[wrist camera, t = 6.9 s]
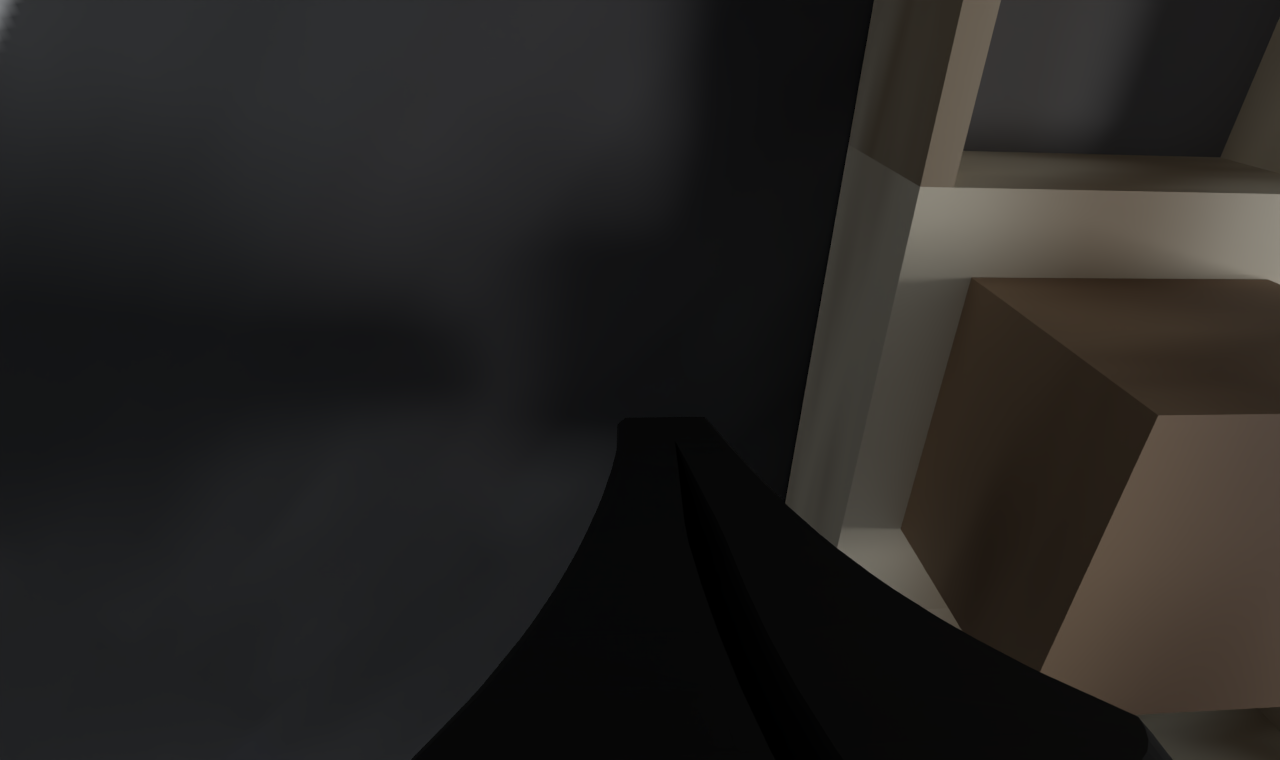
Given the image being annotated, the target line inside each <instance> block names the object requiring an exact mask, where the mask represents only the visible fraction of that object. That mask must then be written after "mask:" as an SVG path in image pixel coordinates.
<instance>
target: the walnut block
mask: <svg viewBox="0 0 1280 760" xmlns="http://www.w3.org/2000/svg"><path fill="white" fill-rule="evenodd" d="M901 531H902V532H903V534H904V536H905V537H906V539H907V541H908V542H909V544H910V546H911V547H912V549H913V550H914V552H915V554H916V555H917V557H918V559H919V560H920V562H921V564H922V565H923V567H924V569H925V570H926V572H927V574H928V575H929V577H930V579H931V580H932V582H933V584H934V585H935V587H936V589H937V590H938V592H939V593H940V595H941V597H942V598H943V600H944V602H945V603H946V605H947V607H948V608H949V610H950V612H951V613H952V615H953V617H954V618H955V620H956V622H957V623H958V625H959V627H960V628H961V630H962V631H963V632H965V633H967V634H968V635H970V636H972V637H974V638H975V639H977V640H979V641H981V642H983V643H985V644H987V645H989V646H991V647H992V648H994V649H996V650H998V651H1000V652H1002V653H1004V654H1006V655H1008V656H1010V657H1011V658H1013V659H1015V660H1017V661H1019V662H1021V663H1023V664H1025V665H1027V666H1029V667H1031V668H1033V669H1035V670H1037V671H1039V672H1041V673H1043V674H1045V675H1048V676H1050V677H1052V678H1054V679H1056V680H1059V681H1061V682H1063V683H1065V684H1067V685H1070V686H1072V687H1074V688H1076V689H1078V690H1081V691H1083V692H1085V693H1087V694H1089V695H1092V696H1094V697H1096V698H1098V699H1100V700H1103V701H1105V702H1107V703H1109V704H1111V705H1114V706H1116V707H1118V708H1120V709H1123V710H1125V711H1127V712H1129V713H1131V714H1134V715H1144V714H1162V713H1180V712H1197V711H1215V710H1233V709H1251V708H1269V707H1280V284H1278V283H1275V282H1273V281H1271V280H1268V279H1133V278H995V277H971V281H970V284H969V288H968V291H967V295H966V298H965V302H964V305H963V309H962V313H961V316H960V320H959V323H958V327H957V330H956V334H955V337H954V341H953V345H952V348H951V352H950V355H949V359H948V362H947V366H946V369H945V373H944V376H943V380H942V384H941V387H940V391H939V394H938V398H937V401H936V405H935V408H934V412H933V416H932V419H931V423H930V426H929V430H928V433H927V437H926V440H925V444H924V448H923V451H922V455H921V458H920V462H919V465H918V469H917V472H916V476H915V479H914V483H913V487H912V490H911V494H910V497H909V501H908V504H907V508H906V511H905V515H904V519H903V522H902V526H901Z"/></svg>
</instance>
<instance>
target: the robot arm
mask: <svg viewBox="0 0 1280 760" xmlns="http://www.w3.org/2000/svg"><path fill="white" fill-rule="evenodd" d="M412 760H1173V759H1172V758H1171V757H1170V755H1169V754H1168V753H1167V752H1166V750H1165V749H1164V748H1163V747H1162V745H1161V744H1160V743H1159V741H1158V740H1157V739H1156V738H1155V736H1154V735H1153V734H1152V732H1151V731H1150V730H1149V729H1148V728H1147V727H1146V725H1145V724H1144V723H1143V722H1142V721H1141V720H1140V718H1139V717H1138V716H1136V715H1134V714H1131V713H1129V712H1127V711H1125V710H1123V709H1120V708H1118V707H1116V706H1114V705H1111V704H1109V703H1107V702H1105V701H1103V700H1100V699H1098V698H1096V697H1094V696H1092V695H1089V694H1087V693H1085V692H1083V691H1081V690H1078V689H1076V688H1074V687H1072V686H1070V685H1067V684H1065V683H1063V682H1061V681H1059V680H1056V679H1054V678H1052V677H1050V676H1048V675H1045V674H1043V673H1041V672H1039V671H1037V670H1035V669H1033V668H1031V667H1029V666H1027V665H1025V664H1023V663H1021V662H1019V661H1017V660H1015V659H1013V658H1011V657H1010V656H1008V655H1006V654H1004V653H1002V652H1000V651H998V650H996V649H994V648H992V647H991V646H989V645H987V644H985V643H983V642H981V641H979V640H977V639H975V638H974V637H972V636H970V635H968V634H967V633H965V632H963V631H961V630H960V629H958V628H956V627H954V626H953V625H951V624H949V623H947V622H946V621H944V620H942V619H940V618H939V617H937V616H936V615H934V614H932V613H931V612H929V611H928V610H926V609H925V608H923V607H921V606H920V605H918V604H917V603H915V602H913V601H912V600H910V599H909V598H907V597H905V596H904V595H902V594H901V593H899V592H897V591H896V590H894V589H893V588H892V587H890V586H889V585H887V584H886V583H884V582H883V581H881V580H880V579H878V578H877V577H875V576H874V575H873V574H871V573H870V572H869V571H867V570H866V569H865V568H863V567H862V566H861V565H859V564H858V563H856V562H855V561H854V560H852V559H851V558H850V557H848V556H847V555H846V554H844V553H843V552H842V551H840V550H839V549H838V548H836V547H835V546H834V545H833V544H831V543H830V542H829V541H828V540H827V539H825V538H824V537H823V536H822V535H820V534H819V533H818V532H817V531H816V530H815V529H814V528H812V527H811V526H810V525H809V524H808V523H807V522H806V521H804V520H803V519H802V518H801V517H800V516H799V515H798V514H796V513H795V512H794V511H793V510H792V509H791V508H790V507H789V506H788V505H787V504H786V503H784V502H783V501H782V500H781V499H780V498H779V497H778V496H777V495H776V494H775V493H774V492H773V491H772V490H771V489H770V488H769V487H768V486H767V485H766V484H765V483H764V482H763V481H762V480H761V478H760V477H759V476H758V475H757V474H756V473H755V472H754V471H753V470H752V469H751V468H750V467H749V466H748V465H747V464H746V463H745V462H744V460H743V459H742V458H741V457H740V456H739V455H738V454H737V453H736V452H735V451H734V449H733V448H732V447H731V446H730V445H729V444H728V443H727V442H726V440H725V439H724V438H723V437H722V436H721V435H720V434H719V433H718V431H717V430H716V429H715V428H714V427H713V426H712V425H711V424H710V423H709V422H708V420H707V419H706V418H705V417H663V418H625V419H623V420H622V421H621V422H620V423H619V424H618V427H617V451H616V455H615V459H614V463H613V467H612V470H611V473H610V476H609V479H608V482H607V485H606V488H605V491H604V494H603V496H602V499H601V501H600V504H599V506H598V508H597V511H596V513H595V515H594V517H593V519H592V522H591V524H590V526H589V528H588V530H587V533H586V535H585V537H584V539H583V541H582V543H581V545H580V547H579V549H578V551H577V552H576V554H575V556H574V558H573V560H572V562H571V563H570V565H569V567H568V569H567V570H566V572H565V574H564V575H563V577H562V579H561V580H560V582H559V584H558V585H557V587H556V588H555V590H554V591H553V593H552V594H551V596H550V597H549V599H548V600H547V602H546V603H545V605H544V606H543V608H542V609H541V611H540V612H539V614H538V615H537V617H536V618H535V620H534V621H533V622H532V624H531V625H530V627H529V628H528V629H527V631H526V632H525V633H524V635H523V636H522V637H521V639H520V640H519V641H518V642H517V644H516V645H515V646H514V647H513V649H512V650H511V651H510V652H509V653H508V655H507V656H506V657H505V658H504V660H503V661H502V662H501V663H500V664H499V666H498V667H497V668H496V669H495V671H494V672H493V673H492V674H491V675H490V677H489V678H488V679H487V680H486V681H485V683H484V684H483V685H482V686H481V687H480V689H479V690H478V691H477V692H476V693H475V694H474V695H473V696H472V697H471V699H470V700H469V701H468V702H467V703H466V704H465V705H464V706H463V707H462V708H461V709H460V710H459V711H458V712H457V713H456V714H455V715H454V716H453V717H452V718H451V719H450V720H449V721H448V722H447V723H446V724H445V725H444V726H443V728H442V729H441V730H440V731H439V732H438V733H437V734H436V735H435V736H434V737H433V738H432V739H431V740H430V741H429V742H428V743H427V744H426V745H425V746H424V747H423V748H422V749H421V750H420V751H419V752H418V753H417V754H416V755H415V756H414V757H413V758H412Z"/></svg>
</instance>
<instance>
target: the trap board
mask: <svg viewBox="0 0 1280 760" xmlns="http://www.w3.org/2000/svg"><path fill="white" fill-rule="evenodd" d="M971 277H995V278H1133V279H1268V280H1271V281H1273V282H1275V283H1278V284H1280V0H874V3H873V9H872V15H871V20H870V26H869V32H868V37H867V43H866V49H865V54H864V60H863V66H862V71H861V77H860V83H859V88H858V94H857V100H856V105H855V111H854V117H853V122H852V128H851V134H850V139H849V145H848V151H847V156H846V162H845V168H844V173H843V179H842V185H841V190H840V196H839V202H838V207H837V213H836V218H835V224H834V230H833V235H832V241H831V247H830V252H829V258H828V264H827V269H826V275H825V281H824V286H823V292H822V298H821V303H820V309H819V315H818V320H817V326H816V332H815V337H814V343H813V349H812V354H811V360H810V366H809V371H808V377H807V383H806V388H805V394H804V400H803V405H802V411H801V417H800V422H799V428H798V433H797V439H796V445H795V450H794V456H793V462H792V467H791V473H790V479H789V484H788V490H787V496H786V501H785V503H786V504H787V505H788V506H789V507H790V508H791V509H792V510H793V511H794V512H795V513H796V514H798V515H799V516H800V517H801V518H802V519H803V520H804V521H806V522H807V523H808V524H809V525H810V526H811V527H812V528H814V529H815V530H816V531H817V532H818V533H819V534H820V535H822V536H823V537H824V538H825V539H827V540H828V541H829V542H830V543H831V544H833V545H834V546H835V547H836V548H838V549H839V550H840V551H842V552H843V553H844V554H846V555H847V556H848V557H850V558H851V559H852V560H854V561H855V562H856V563H858V564H859V565H861V566H862V567H863V568H865V569H866V570H867V571H869V572H870V573H871V574H873V575H874V576H875V577H877V578H878V579H880V580H881V581H883V582H884V583H886V584H887V585H889V586H890V587H892V588H893V589H894V590H896V591H897V592H899V593H901V594H902V595H904V596H905V597H907V598H909V599H910V600H912V601H913V602H915V603H917V604H918V605H920V606H921V607H923V608H925V609H926V610H928V611H929V612H931V613H932V614H934V615H936V616H937V617H939V618H940V619H942V620H944V621H946V622H947V623H949V624H951V625H953V626H954V627H956V628H958V629H960V630H961V628H960V627H959V625H958V623H957V622H956V620H955V618H954V617H953V615H952V613H951V612H950V610H949V608H948V607H947V605H946V603H945V602H944V600H943V598H942V597H941V595H940V593H939V592H938V590H937V589H936V587H935V585H934V584H933V582H932V580H931V579H930V577H929V575H928V574H927V572H926V570H925V569H924V567H923V565H922V564H921V562H920V560H919V559H918V557H917V555H916V554H915V552H914V550H913V549H912V547H911V546H910V544H909V542H908V541H907V539H906V537H905V536H904V534H903V532H902V531H901V526H902V522H903V519H904V515H905V511H906V508H907V504H908V501H909V497H910V494H911V490H912V487H913V483H914V479H915V476H916V472H917V469H918V465H919V462H920V458H921V455H922V451H923V448H924V444H925V440H926V437H927V433H928V430H929V426H930V423H931V419H932V416H933V412H934V408H935V405H936V401H937V398H938V394H939V391H940V387H941V384H942V380H943V376H944V373H945V369H946V366H947V362H948V359H949V355H950V352H951V348H952V345H953V341H954V337H955V334H956V330H957V327H958V323H959V320H960V316H961V313H962V309H963V305H964V302H965V298H966V295H967V291H968V288H969V284H970V281H971ZM961 631H962V630H961ZM1136 716H1138V717H1139V718H1140V720H1141V721H1142V722H1143V723H1144V724H1145V725H1146V727H1147V728H1148V729H1149V730H1150V731H1151V732H1152V734H1153V735H1154V736H1155V738H1156V739H1157V740H1158V741H1159V743H1160V744H1161V745H1162V747H1163V748H1164V749H1165V750H1166V752H1167V753H1168V754H1169V755H1170V757H1171V758H1172V759H1173V760H1280V707H1269V708H1251V709H1233V710H1215V711H1197V712H1180V713H1162V714H1144V715H1136Z"/></svg>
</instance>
